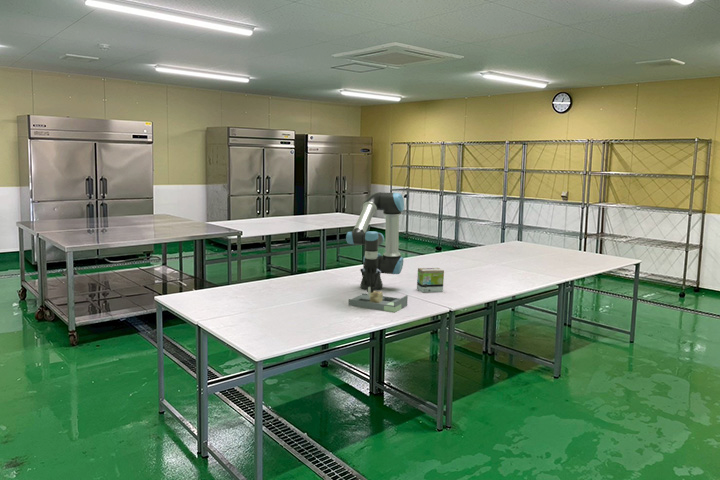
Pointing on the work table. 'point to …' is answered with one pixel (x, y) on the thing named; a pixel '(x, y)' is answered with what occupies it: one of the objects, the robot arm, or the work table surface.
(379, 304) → the board
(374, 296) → the block
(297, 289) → the work table surface
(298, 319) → the work table surface
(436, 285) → the tea box
